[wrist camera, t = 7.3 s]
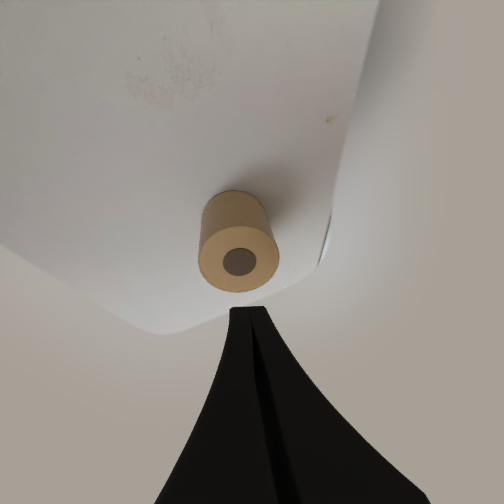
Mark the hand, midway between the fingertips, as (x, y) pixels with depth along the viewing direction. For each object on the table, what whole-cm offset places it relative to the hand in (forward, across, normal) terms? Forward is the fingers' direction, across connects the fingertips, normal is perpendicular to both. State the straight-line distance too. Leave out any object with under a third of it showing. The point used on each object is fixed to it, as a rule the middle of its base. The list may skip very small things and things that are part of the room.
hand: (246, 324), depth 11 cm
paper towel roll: (+9, 0, 0) cm, 9 cm away
